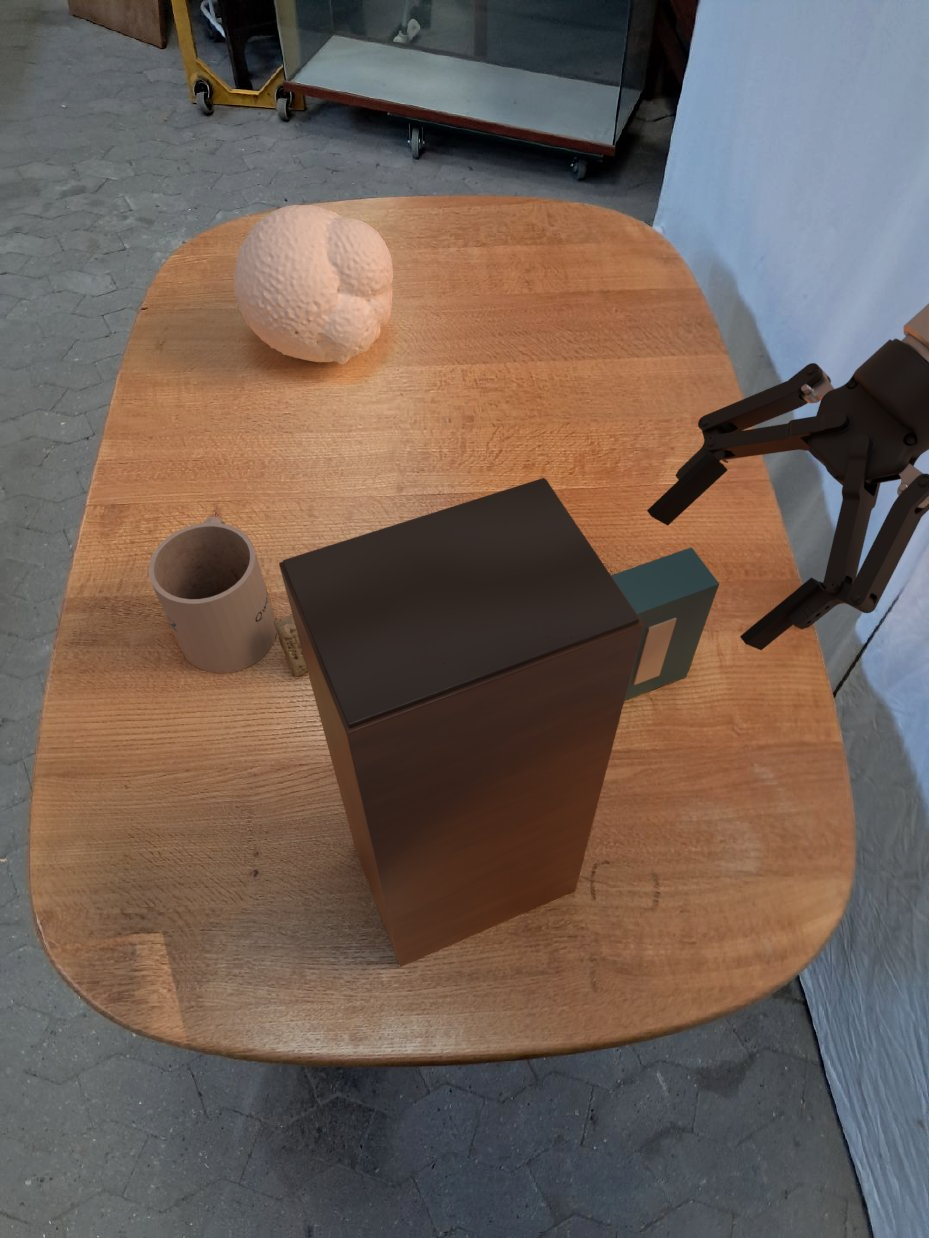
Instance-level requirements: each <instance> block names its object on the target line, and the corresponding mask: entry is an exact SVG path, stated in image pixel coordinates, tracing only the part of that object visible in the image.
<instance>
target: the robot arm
mask: <svg viewBox="0 0 929 1238" xmlns="http://www.w3.org/2000/svg"><path fill="white" fill-rule="evenodd" d="M903 335H904V337H903V338H902V339H899V338H893V339H888V340H887V341H886V342H885V343H884V344H883V345H882V346H881V347H880V348H878V350H876V351H875V352H874V353H873V354H872V355H871V356H869V358H867V360H865V361H864V362H863V363H862V364H861V365H860V366H859V367H857V368H856V370H855V371H854V372H853V374H852V375H851V377H850V379H849V380H848V381H847V382H846V383H844V384H843V385H841V386H839V387H836V388H835V387H834V386H833V384H832V379H831V378H830V376H829V375H828V374H827V373H826V372H825V371H824V370H823V369H822V368H821V367H820V365H818V364H817V363H815V362H811V363H808V364H806V365H805V366H804V367H802V369H800V370H799V371H797V372H796V373H795V374H794V375H793V376H792V377H790V378H789V379H788V380H786V381H783V382H781V383H779V384H776V385H774V386H772V387H769V388H766V389H764V390H762V391H760V392H757V393H755V394H752V395H750V396H748V397H745V398H742V399H740V400H738V401H735V402H734V403H731V404H729V405H726V406H724V407H721V408H719V409H717V410H713V411H712V412H709V413H707V414H704V415H703V416H701V417H699V419H698V422H697V426H698V429H699V430H701V433H702V436H703V444H702V446H701V447H700V449H699V450H698V451H697V452H695V453H694V455H692V456H691V457H690V458H689V459H688V460H687V461H686V462H685V463H684V464H683V465H682V466H680V467H679V469H678V470H677V471H676V473H675V477H676V479H677V481H675V483H674V484H673V485H672V486H671V487H670V488H669V489H667V491H666V492H665V493H663V495H661V496H660V498H658V499H657V500H656V501H655V502H654V503H653V504H652V505H651V506H650V507H649V508H648V509H646V512H647V513H648V515H650V517H651V518H653V519H655V520H656V521H658V522H660V523H662V524H663V525H665V526H670V525H671V524H672V523H673V522H674V521H675V520H676V519H677V518H678V517H679V516H680V515H681V514H683V513H684V511H686V510H687V509H688V508H689V507H690V506H691V505H692V504H693V503H694V502H695V501H696V500H698V499H699V498H700V497H701V496H702V495H703V494H705V492H706V491H707V490H708V489H709V488H710V487H712V485H714V484H715V483H716V482H717V481H718V480H720V478H721V477H722V476H723V475H724V474H726V472H728V471H729V470H728V468H727V466H725V464H723V463H726V464H728V463H729V461H728V460H734V459H735V460H736V459H740V458H741V459H742V458H749V457H756V456H762V455H771V454H777V453H784V452H785V453H786V452H792V451H799V450H800V451H806V452H809V453H810V455H812V457H813V458H815V459H816V460H817V461H818V462H819V463H820V464H821V465H823V466H824V467H825V470H826V472H827V473H829V475H830V476H831V477H832V478H833V479H834V480H835V481H837V482H838V483H839V484H840V485H841V486H842V488H841V499H842V501H841V505H840V508H839V513H838V517H837V522H836V526H835V531H834V534H833V539H832V543H831V547H830V552H829V555H828V556H829V557H828V561H827V563H826V564H827V565H826V570H825V573H824V577H823V581H819V580H817V579H815V578H813V577H810V578H809V579H807V580H806V581H805V582H804V583H803V584H802V585H801V586H799V587H798V588H797V589H795V590H794V591H793V592H792V593H790V595H788V596H787V597H786V598H784V599H783V600H782V601H781V602H779V604H777V605H776V606H775V607H774V608H772V609H771V610H770V611H769V612H767V613H766V614H765V615H764V616H763V617H762V618H760V619H759V620H758V621H757V622H756V623H754V624H753V625H752V626H751V627H749V628H748V629H747V630H746V631H744V632H743V633H742V634H741V635H740V636H739V637H740V639H741V640H742V642H743V643H744V644H745V645H747V646H748V647H752V648H754V649H757V650H759V651H763V649H766V647H768V645H770V644H771V643H772V642H774V641H775V640H776V639H777V638H779V637H780V636H781V635H782V634H784V633H785V632H786V631H787V630H789V629H790V628H791V627H792V626H793V627H795V628H797V629H800V630H805V629H808V628H810V627H811V626H812V625H814V624H815V623H816V622H818V621H819V620H820V619H821V618H822V617H823V616H825V615H826V614H828V612H830V611H831V610H832V609H834V608H835V607H837V606H839V605H840V604H841V605H843V604H844V605H845V604H846V605H848V606H851V607H852V608H854V609H856V610H858V611H859V612H861V613H863V614H871V613H872V612H874V611H875V610H876V608H877V606H878V604H879V602H880V601H881V598H882V596H883V594H884V592H885V590H886V588H887V586H888V585H889V582H890V581H891V578H892V576H893V575H894V572H895V571H896V569H897V566H898V565H899V563H900V561H901V559H902V557H903V555H904V553H905V551H906V549H907V547H908V546H909V543H910V541H911V539H912V538H913V535H914V533H915V531H916V529H917V528H918V525H919V523H920V521H921V519H922V517H924V516H925V514H926V513H927V512H928V511H929V473H923V472H922V471H921V470H920V469H917V467H915V464H916V462H917V460H918V459H919V458H920V457H921V456H922V455H923V454H924V453H925V452H927V451H929V302H928V303H927V304H926V305H925V306H924V307H923V308H922V309H921V310H919V311H918V312H917V313H916V314H915V315H914V316H913V317H911V318H910V320H908V321H907V322H906V323H905V324H904V325H903ZM817 403H819V405H818V409H817V412H816V415H814V416H808V417H800V418H795V419H791V420H789V421H788V422H787V423H782V424H781V423H780V424H775V425H770V426H769V425H768V426H762V427H757V428H752V427H755V426H757V425H760V424H762V423H765V422H768V421H770V420H773V419H775V418H778V417H780V416H782V415H785V414H788V413H790V412H793V411H795V410H797V409H800V408H802V407H804V406H806V405H807V404H817ZM749 428H751V429H749ZM721 461H722V462H723V463H722V462H721ZM899 480H900V484H899V485H898V487H897V489H896V492H897V493H896V494H897V497H896V499H895V500H894V502H893V503H892V505H891V507H890V508H889V510H888V513H887V515H886V517H885V519H884V521H883V522H882V524H881V527H880V529H879V530H878V532H877V535H876V537H875V538H874V540H873V542H872V545H871V547H870V549H868V550H869V551H868V552H867V555H866V557H865V558H864V560H863V563H862V564H861V566H860V562H861V557H862V554H863V548H864V544H865V541H866V536H867V533H868V532H867V531H868V527H869V523H870V518H871V514H872V511H873V509H874V508H875V507H876V505H877V500H878V496H879V491H880V487H881V484H882V483H883V484H884V483H888V482H894V481H899ZM859 566H860V569H859Z"/></svg>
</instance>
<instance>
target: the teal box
mask: <svg viewBox="0 0 929 1238" xmlns="http://www.w3.org/2000/svg"><path fill="white" fill-rule="evenodd" d="M610 575H611V576H612V578H613V579H614V581H615V582H616V584H617V585H618V587H619V588H620V589H621V591H622V592H623V594H624V595H625V597H626V598H627V600H628V601H629V603H630V604H631V606H632V607H633V609H634V610H635V612H636V613H637V615H638V616H639V618H640V619H641V621H642V622H643V624H644V627H643V631H642V635H641V639H640V643H639V647H638V651H637V654H636V658H635V662H634V666H633V670H632V674H631V678H630V681H629V685H628V689H627V693H626V697H625V701H624V702H626V701H628V700H630V699H634V698H636V697H638V696H641V695H643V694H646V693H648V692H651V691H654V690H657V689H659V688H662V687H665V686H667V685H669V684H672V683H674V682H677V681H680V680H681V679H682V680H683V679H685V678H687V677H688V674H689V671H690V669H691V665H692V663H693V660H694V657H695V654H696V651H697V649H698V646H699V644H700V640H701V637H702V635H703V631H704V628H705V626H706V623H707V620H708V617H709V615H710V611H711V609H712V606H713V603H714V601H715V597H716V595H717V592H718V589H719V586H720V583H719V581H718V580H717V578H716V577H715V576H714V575H713V573H712V572H711V571H710V569H709V568H708V567H707V565H706V564H705V563H704V561H703V560H702V558H700V556H699V554H697V552H696V551H695V550H694V548H693V547H687V548H685V549H682V550H680V551H676V552H674V553H670V554H668V555H665V556H662V557H659V558H656V559H654V560H650V561H648V562H645V563H642V564H639V565H636V566H634V567H630V568H628V569H625V570H623V571H619V572H616V573H613V574H610Z"/></svg>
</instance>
